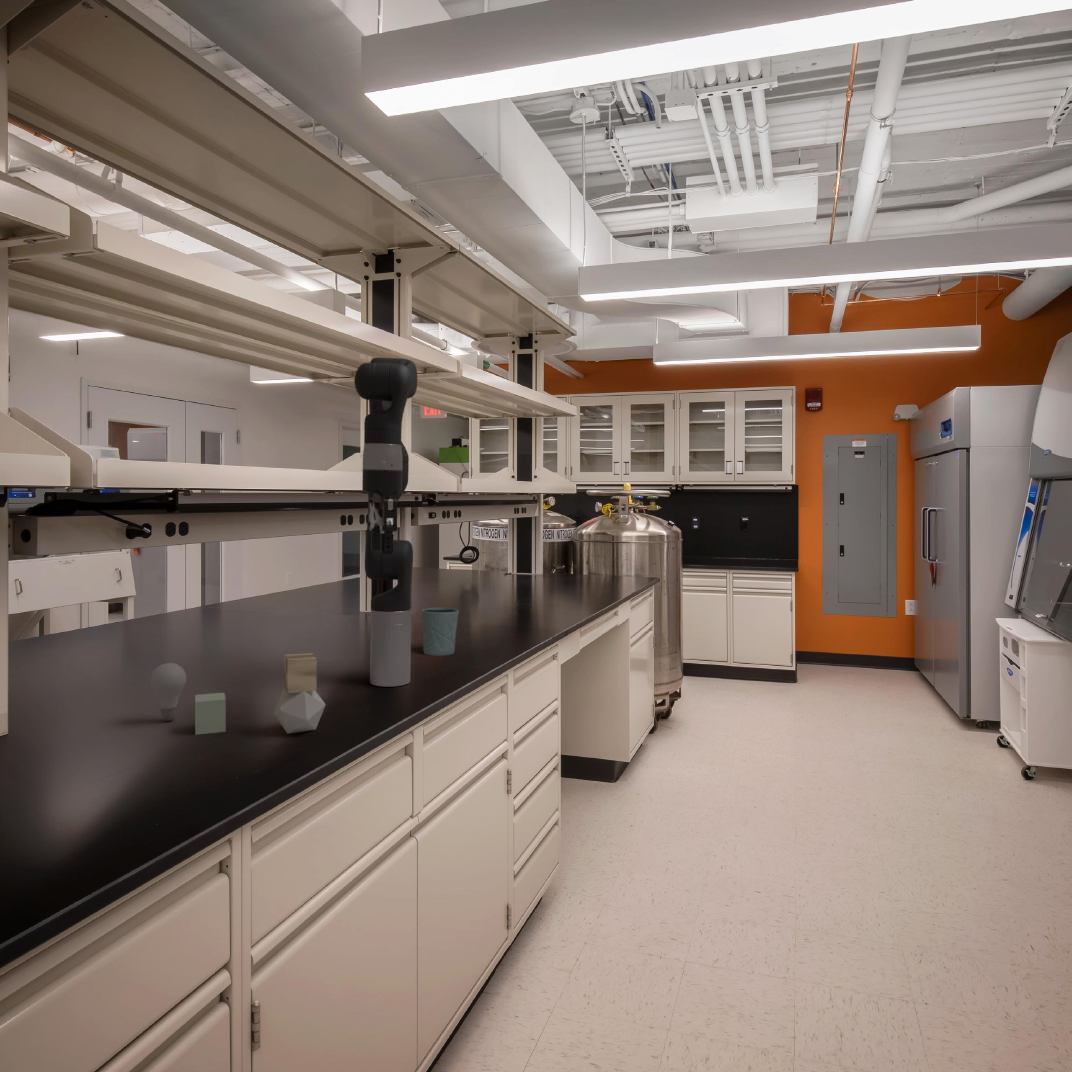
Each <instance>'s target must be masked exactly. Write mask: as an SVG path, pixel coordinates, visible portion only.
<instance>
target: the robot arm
mask: <svg viewBox="0 0 1072 1072" xmlns="http://www.w3.org/2000/svg"><path fill="white" fill-rule="evenodd" d="M353 383H354V388H355V390H356V393H357V394H358V396H359V397H360V398H362V399H364V400H367V401H368V406H369V411H368V412H369V414H367V415H366V416H365V418H364V426H363V427H364V428H363V429H364V436H363V437H364V438H363V440H364V442H363V443H364V444H363V450H362V451H363V452H362V479H361V481H362V483H361V484H362V486H361V487H362V492H364V493H366V494H367V495H368V497H367V500H368V501H367V502H368V503H367V504H368V505H367V520H366V521H367V524H366V526H367V527H366V534H365V536H366V538H365V546H364V547H365V548H364V549H365V550H364V569H365V570H364V572H365V576H366V577H367V578H368V579H370V580H379V581H380V580H384V581H385V580H387V581H389V580H391V581H392V580H393V581H395V580H396V581H397V584H396V585H395V586H394V587H392V588H391V589H389V590H388V591H384V592H382V593H378V594H375V595H374V596H372V597H371V600H370V649H369V651H370V652H369V653H370V654H369V655H370V656H369V657H370V659H369V675H370V676H369V683H370V684H371V685H372V686H378V687H386V688H387V687H388V688H389V687H400V686H405V685H407V684H409V683H411V661H412V658H411V657H412V656H411V653H412V652H411V651H412V650H411V649H412V648H411V647H412V646H411V645H412V642H411V641H412V582H413V581H412V580H413V568H414V567H413V565H414V548H413V544H412V543H411V542H410V541H409V540H406V539H394V535H395V534H396V532H397V531H398V501H399V500H400V498H401V497H402V496H403V494H404V492H405V491H406V489H407V486H408V484H409V471H410V470H409V468H410V467H409V466H410V465H409V460H410V458H409V454H408V453H409V452H408V450H407V449H406V447H405V445H404V443H403V440H402V428H403V425H402V423H403V417H404V413H405V408H406V404H407V401H408V399H410V398H413V397H414V396H415V395H416V392H417V389H418V368H417V366H416V364H415V363H414V362H413V361H412V360H411V359H408V358H407V359H406V358H395V357H373V358H372V359H371V360H370V362H364V363H362V364H360V365H359V366H358V368H357V369H356V371H355V374H354V380H353ZM384 401H386V402H391V404H390V406H389V408H387V409H386V410H385V408H384Z"/></svg>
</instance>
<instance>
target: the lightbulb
mask: <svg viewBox="0 0 1072 1072" xmlns="http://www.w3.org/2000/svg"><path fill="white" fill-rule="evenodd" d="M149 682H150V686H151V688H152V690H153V692H154V693H155V695H156V696H157V699H158V704H159V705H158V706H159V708H160V716H161V719H162V720H165V721H166V722H171V721H172V720H173V719H174V718H176V717H177V707H178V706H179V697H180V695H181V693H182V691H183V689H184V687H185V686H186V683H187V674H186V671H185V669H184V668H183V667H182V666H180V665H179V664H177V663H174V662H166V663H163V664H160V665H159V666H157V667H156V668H155V669H154V670H153V672H151V675H150V680H149Z"/></svg>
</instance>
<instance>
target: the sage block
mask: <svg viewBox="0 0 1072 1072" xmlns="http://www.w3.org/2000/svg"><path fill="white" fill-rule="evenodd" d="M226 703H227V701H226V694H225V692H216V693H215V692H214V693H213V692H212V693H202V694H195V695H194V730H195V731H194V732H195V733H194V734H195V736H196V735H205V734H207V735H208V734H218V733H224V732H225V733H226V732H227V731H226V726H227V725H226V724H227V723H226V722H227V721H226V719H227V715H226V714H227V713H226V712H227V711H226V709H227V708H226V707H227V706H226Z"/></svg>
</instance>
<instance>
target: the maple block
mask: <svg viewBox="0 0 1072 1072" xmlns="http://www.w3.org/2000/svg"><path fill="white" fill-rule="evenodd" d="M317 661H318V660H317V657H316V655H315V654H314V653H313V652H307V653H306V652H305V653H303V652H302V653H291V654H290V653H288V654H284V664H283V665H284V666H283V667H284V675H283V676H284V678H283V679H284V680H283V681H284V689H286V691H287V693H297V692H308V691H316V692H317V673H318V672H317V671H318V670H317V667H318V666H317Z"/></svg>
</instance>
